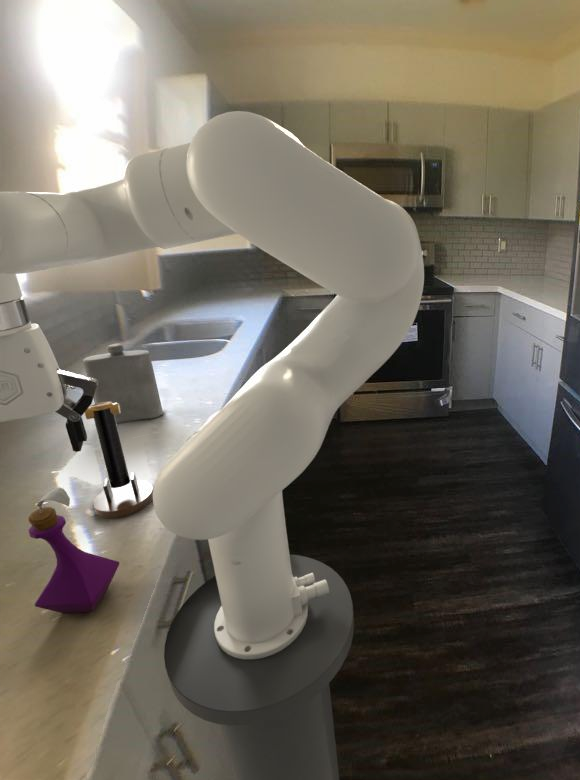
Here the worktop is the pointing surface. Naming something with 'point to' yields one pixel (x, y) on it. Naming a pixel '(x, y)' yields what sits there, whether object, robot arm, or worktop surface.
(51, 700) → the worktop surface
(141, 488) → the holder base
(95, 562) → the perfume bottle
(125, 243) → the robot arm
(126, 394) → the flask
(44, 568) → the worktop surface
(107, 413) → the rod
